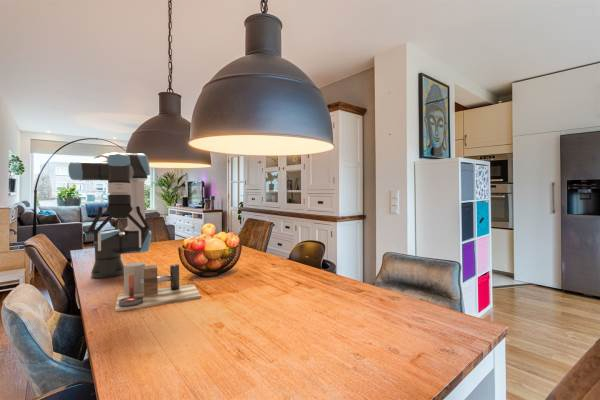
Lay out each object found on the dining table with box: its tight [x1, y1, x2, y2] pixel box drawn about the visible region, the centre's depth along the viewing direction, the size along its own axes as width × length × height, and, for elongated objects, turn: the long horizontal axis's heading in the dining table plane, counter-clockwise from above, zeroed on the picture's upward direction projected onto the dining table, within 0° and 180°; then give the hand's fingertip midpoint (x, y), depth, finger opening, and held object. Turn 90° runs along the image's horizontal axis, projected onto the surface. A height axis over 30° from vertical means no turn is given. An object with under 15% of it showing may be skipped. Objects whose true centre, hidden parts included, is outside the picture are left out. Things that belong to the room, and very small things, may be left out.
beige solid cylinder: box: [123, 261, 146, 294], centre depth 133 cm, size 8×8×12 cm
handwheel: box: [119, 275, 143, 307], centre depth 116 cm, size 10×8×9 cm
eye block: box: [114, 264, 202, 312], centre depth 125 cm, size 18×30×12 cm, turn 118°
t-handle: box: [140, 264, 180, 290], centre depth 130 cm, size 4×15×10 cm, turn 118°
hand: (120, 248), depth 118 cm, fingers open, 13 cm apart
